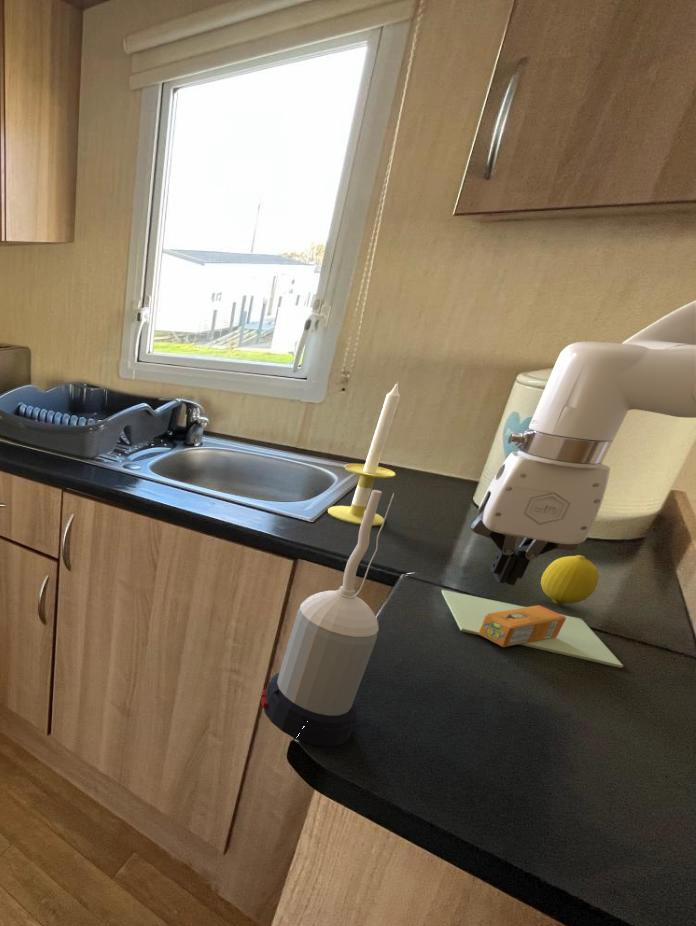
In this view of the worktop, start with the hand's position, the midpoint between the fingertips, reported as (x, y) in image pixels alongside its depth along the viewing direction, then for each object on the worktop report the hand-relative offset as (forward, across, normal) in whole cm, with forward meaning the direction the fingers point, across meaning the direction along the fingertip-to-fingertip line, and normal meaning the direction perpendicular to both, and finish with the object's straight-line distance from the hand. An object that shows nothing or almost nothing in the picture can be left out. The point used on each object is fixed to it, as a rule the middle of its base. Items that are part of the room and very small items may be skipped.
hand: (502, 579), depth 74 cm
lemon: (+6, +11, +11) cm, 16 cm away
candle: (+6, -13, +36) cm, 39 cm away
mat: (+6, +4, 0) cm, 7 cm away
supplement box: (+4, +6, -1) cm, 7 cm away
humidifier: (+6, -23, -35) cm, 42 cm away
